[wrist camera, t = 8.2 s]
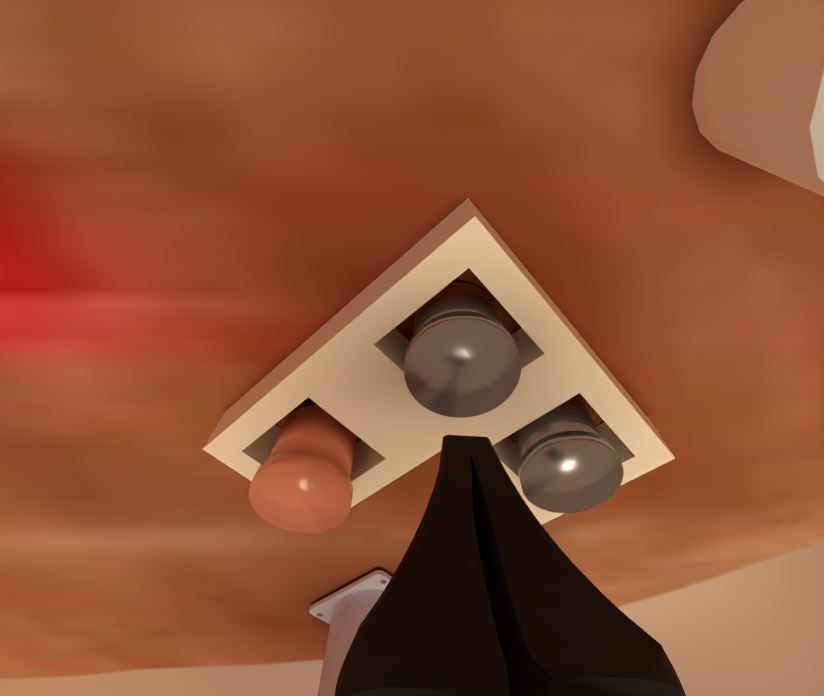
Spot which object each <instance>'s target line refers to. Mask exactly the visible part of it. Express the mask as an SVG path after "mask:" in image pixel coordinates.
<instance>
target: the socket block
mask: <svg viewBox="0 0 824 696" xmlns="http://www.w3.org/2000/svg"><path fill="white" fill-rule="evenodd" d="M468 268H469V269H470V270H471V271H472V272H473V273H474V274H475V275H476V276H477V278H478V279H479V280H480V281H481V282H482V283H483V284H484V286H485V287H486V288H487V289H488V290H489V291H490V292H491V293H492V295H493V296H494V297H495V298H496V299H497V300H498V301H499V302H500V304H501V305H502V306H503V307H504V308H505V309H506V310H507V312H508V313H509V314H510V315H511V316H512V317H513V318H514V319H515V321H516V322H517V323H518V324H519V325H520V326H521V328H520V329H519V330H517V331H516V332H514V333H513V334H511V336H512V337H513V339H514V341H515V344H516V347H517V350H518V353H519V356H520V360H521V375H520V379H519V382H518V384H517V386H516V388H515V390H514V391H513V393H512V394H511V395H510V397H509V398H508V399H507V400H506V401H505V402H503V403H502V404H501V405H499V406H498V407H497V408H495V409H493V410H491V411H489V412H487V413H484V414H481V415H478V416H473V417H464V418H456V417H448V416H443V415H440V414H437V413H434V412H432V411H430V410H428V409H427V408H425V407H423V406H422V405H421V404H420V403H418V402H417V401H416V400H415V399H414V397H413V396H412V395H411V393H410V391H409V390H408V388H407V385H406V382H405V377H404V363H405V353H406V349H407V346H408V344H409V341H408V340H407V339H406V338H405V337H404V336H403V335H402V334H401V333H400V332H399V331H398V330H397V329H396V328H395V327H396V326H397V325H399V324H400V323H401V322H402V321H404V320H405V319H406V318H407V317H409V316H410V315H411V314H412V313H413V312H415V311H416V310H417V309H418V308H420V307H421V306H422V305H423V304H425V303H426V302H427V301H428V300H430V299H431V298H432V297H433V296H435V295H436V294H437V293H438V292H440V291H441V290H442V289H443V288H444V287H446V286H447V285H448V284H449V283H451V282H452V281H453V280H454V279H456V278H457V277H458V276H459V275H461V274H462V273H463V272H464V271H466V270H467V269H468ZM579 393H580V394H581V395H582V396H583V398H584V399H585V400H586V401H587V402H588V403H589V404H590V405H591V407H592V408H593V409H594V410H595V411H596V412H597V413H598V415H599V416H600V417H601V418H602V419H603V420H604V421H605V422H603V423H602V424H600V425H598V426H596V429H597V431H598V433H599V435H600V436H601V437H603V438H604V439H606V440H607V441H608V442H609V443H610V444H611V445H612V446H613V448H614V450H615V452H616V454H617V455H618V457H619V459H620V461H621V463H622V466H623V473H624V474H623V479H622V483H621V485H623V484H625V483H627V482H629V481H631V480H633V479H635V478H637V477H639V476H641V475H643V474H645V473H647V472H649V471H651V470H653V469H655V468H657V467H659V466H661V465H663V464H665V463H667V462H669V461H671V460H673V459H675V457H674V456H673V454H672V453H671V451H670V450H669V448H668V447H667V445H666V444H665V442H664V441H663V439H662V438H661V436H660V435H659V433H658V432H657V430H656V429H655V427H654V426H653V424H652V423H651V421H650V420H649V418H648V417H647V416H646V415H645V414H644V412H643V411H642V410H641V409H640V407H639V406H638V405H637V404H636V402H635V401H634V400H633V399H632V398H631V396H630V395H629V394H628V393H627V391H626V390H625V389H624V388H623V387H622V385H621V384H620V383H619V382H618V380H617V379H616V378H615V377H614V376H613V374H612V373H611V372H610V371H609V369H608V368H607V367H606V366H605V365H604V363H603V362H602V361H601V360H600V358H599V357H598V356H597V355H596V354H595V352H594V351H593V350H592V349H591V347H590V346H589V345H588V344H587V343H586V341H585V340H584V339H583V338H582V336H581V335H580V334H579V333H578V332H577V330H576V329H575V328H574V327H573V325H572V324H571V323H570V322H569V320H568V319H567V318H566V317H565V316H564V314H563V313H562V312H561V311H560V309H559V308H558V307H557V306H556V305H555V303H554V302H553V301H552V300H551V298H550V297H549V296H548V295H547V294H546V292H545V291H544V290H543V289H542V287H541V286H540V285H539V284H538V283H537V281H536V280H535V279H534V278H533V276H532V275H531V274H530V273H529V272H528V270H527V269H526V268H525V267H524V265H523V264H522V263H521V262H520V261H519V259H518V258H517V257H516V256H515V254H514V253H513V252H512V251H511V250H510V248H509V247H508V246H507V245H506V243H505V242H504V241H503V240H502V238H501V237H500V236H499V235H498V234H497V232H496V231H495V230H494V229H493V227H492V226H491V225H490V224H489V223H488V221H487V220H486V219H485V218H484V216H483V215H482V214H481V213H480V212H479V210H478V209H477V208H476V207H475V205H474V204H473V203H472V202H471V201H470V199H469V198H467V199H466V200H465V201H464V202H463V203H461V204H460V205H459V206H458V207H457V208H456V209H455V210H453V211H452V212H451V213H450V214H449V215H448V216H447V217H446V218H444V219H443V220H442V221H441V222H440V223H439V224H438V225H436V226H435V227H434V228H433V229H432V230H431V231H430V232H429V233H427V234H426V235H425V236H424V237H423V238H422V239H421V240H419V241H418V242H417V243H416V244H415V245H414V246H413V247H411V248H410V249H409V250H408V251H407V252H406V253H405V254H404V255H402V256H401V257H400V258H399V259H398V260H397V261H396V262H394V263H393V264H392V265H391V266H390V267H389V268H388V269H387V270H385V271H384V272H383V273H382V274H381V275H380V276H379V277H377V278H376V279H375V280H374V281H373V282H372V283H371V284H370V285H368V286H367V287H366V288H365V289H364V290H363V291H362V292H360V293H359V294H358V295H357V296H356V297H355V298H354V299H353V300H351V301H350V302H349V303H348V304H347V305H346V306H345V307H343V308H342V309H341V310H340V311H339V312H338V313H337V314H335V315H334V316H333V317H332V318H331V319H330V320H329V321H328V322H326V323H325V324H324V325H323V326H322V327H321V328H320V329H318V330H317V331H316V332H315V333H314V334H313V335H312V336H311V337H309V338H308V339H307V340H306V341H305V342H304V343H303V344H301V345H300V346H299V347H298V348H297V349H296V350H295V351H294V352H292V353H291V354H290V355H289V356H288V357H287V358H286V359H284V360H283V361H282V362H281V363H280V364H279V365H278V366H277V367H275V368H274V369H273V370H272V371H271V372H270V373H269V374H267V375H266V376H265V377H264V378H263V379H262V380H261V381H259V382H258V383H257V384H256V385H255V386H254V387H253V388H252V389H250V390H249V391H248V392H247V393H246V394H245V395H244V396H242V397H241V398H240V399H239V400H238V401H237V402H236V403H235V404H233V405H232V406H231V407H230V408H229V409H228V410H227V411H226V412H225V413H224V415H223V416H222V418H221V420H220V421H219V423H218V425H217V426H216V428H215V430H214V431H213V433H212V435H211V436H210V438H209V439H208V441H207V443H206V444H205V446H204V448H203V450H205V451H206V452H208V453H209V454H211V455H212V456H214V457H215V458H217V459H218V460H220V461H221V462H223V463H224V464H226V465H227V466H229V467H230V468H232V469H234V470H235V471H237V472H238V473H240V474H241V475H243V476H244V477H246V478H247V479H249V480H250V481H252V480H253V478H254V475H255V473H256V471H257V469H258V467H259V466H260V465H261V463H263V462H264V461H265V460H266V459H268V458H269V457H270V455H271V452H272V450H273V447H274V445H275V443H276V440H277V438H278V435H279V433H280V431H281V428H280V427H279V426H277V425H276V423H277V422H278V421H280V420H281V419H282V418H283V417H285V416H286V415H287V414H288V413H290V412H291V411H292V410H293V409H294V408H296V407H297V406H298V405H299V404H301V403H302V402H303V401H304V400H306V399H307V398H308V397H309V398H310V399H311V400H312V401H314V402H315V403H316V404H317V405H319V406H320V407H321V408H322V409H324V410H325V411H326V412H328V413H329V414H330V415H331V416H333V417H334V418H335V419H336V420H338V421H339V422H340V423H341V424H343V425H344V426H345V427H346V428H348V429H349V430H350V431H352V432H353V433H354V434H355V435H357V436H358V437H359V438H360V439H362V440H361V441H360V442H358V443H357V444H356V447H355V453H354V458H353V463H352V468H351V473H350V479H351V482H352V485H353V497H352V503H351V507H353V506H354V505H356V504H357V503H359V502H361V501H362V500H364V499H365V498H367V497H368V496H370V495H372V494H373V493H375V492H376V491H378V490H380V489H381V488H383V487H384V486H386V485H387V484H389V483H391V482H392V481H394V480H395V479H397V478H399V477H400V476H402V475H403V474H405V473H406V472H408V471H410V470H411V469H413V468H414V467H416V466H418V465H419V464H421V463H422V462H424V461H425V460H427V459H429V458H430V457H432V456H433V455H435V454H437V453H438V452H440V451H441V448H442V440H443V437H444V436H446V435H461V436H480V437H488V438H489V440H490V441H491V443H492V445H493V447H494V450H495V452H496V454H497V456H498V457H499V459H500V461H501V463H502V465H503V467H504V468H505V470H506V472H507V474H508V475H509V477H510V479H511V481H512V482H513V484H514V485H515V487H516V489H517V490H518V492H519V493H520V495H521V497H522V498H523V500H524V501H525V503H526V504H527V506H528V507H529V508H530V510H531V511H532V513H533V514H534V515H535V517H536V518H537V520H538V521H539V522H540V524H541V525H542V524H544V523H546V522H548V521H550V520H552V519H554V518H556V517H558V516H560V515H562V514H564V513H555V512H549V511H546V510H543V509H540V508H538V507H536V506H535V505H533V504H532V503H531V502H529V500H528V499H527V498H526V497H525V495H524V493H523V491H522V487H521V483H520V479H519V474H518V467H519V463H520V460H521V457H520V453H519V449H518V446H517V444H516V443H515V442H514V441H513V440H512V439H511V438H510V437H509V435H511V434H512V433H514V432H516V431H517V430H519V429H521V428H522V427H524V426H526V425H527V424H529V423H531V422H532V421H534V420H536V419H537V418H539V417H541V416H542V415H544V414H545V413H547V412H549V411H550V410H552V409H554V408H555V407H557V406H559V405H560V404H562V403H564V402H565V401H567V400H569V399H570V398H572V397H574V396H575V395H577V394H579ZM621 485H620V486H621Z"/></svg>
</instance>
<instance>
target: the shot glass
mask: <svg viewBox="0 0 824 696" xmlns="http://www.w3.org/2000/svg"><path fill="white" fill-rule="evenodd" d="M692 108H693V111H694V115H695V118H696V122H697V125H698V129H699V132H700V133H701V134H702V135H703V136H704V137H705V138H706V139H707V140H708V141H709V142H710V143H711V144H712V145H713V146H714V147H715V148H716V149H717V150H719V151H721V152H724V153H726V154H728V155H730V156H733V157H735V158H737V159H740V160H742V161H744V162H746V163H749V164H751V165H753V166H756V167H758V168H760V169H762V170H765V171H767V172H769V173H772V174H774V175H776V176H778V177H781V178H783V179H785V180H788V181H790V182H792V183H794V184H797V185H799V186H801V187H804V188H806V189H808V190H810V191H813V192H815V193H817V194H820V195H822V196H824V0H744V1H743V2H741V3H740V4H739V5H738V6H737V8H736V9H735V10H734V11H733V12H732V13H731V15H730V16H729V17H728V18H727V19H726V20H725V22H724V23H723V24H722V25H721V26H720V27H719V29H718V30H717V31H716V32H715V33H714V34H713V36H712V38H711V40H710V42H709V44H708V46H707V49H706V51H705V53H704V55H703V57H702V59H701V61H700V64H699V66H698V68H697V70H696V75H695V83H694V91H693V99H692Z"/></svg>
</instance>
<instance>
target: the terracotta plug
mask: <svg viewBox="0 0 824 696" xmlns="http://www.w3.org/2000/svg"><path fill="white" fill-rule="evenodd" d="M356 442H357V435H355V434H354V433H353V432H352V431H350V430H349V429H348V428H346V427H345V426H344V425H343V424H341V423H340V422H339V421H338V420H336V419H335V418H334V417H333V416H331V415H330V414H329V413H328V412H326V411H325V410H324V409H322V408H321V407H320V406H319V405H310V406H304V407H301V408H298V409H296V410H294V411H293V412H291V413H290V414H289V415H288V416H287V418H286V419H285V421H284V423H283V426H282V428H281V431H280V433H279V435H278V438H277V440H276V443H275V445H274V447H273V450H272V452H271V455H270V457H269V458H268V459H266V460H265V461H264V462H263V463H261V465H260V466H259V467H258V469H257V471H256V473H255V475H254V478H253V480H252V482H251V485H250V488H249V500H250V503H251V505H252V507H253V509H254V510H255V511H256V513H257V514H258V515H259V516H260V517H261V518H263V519H264V520H265V521H267V522H268V523H270V524H272V525H273V526H276V527H278V528H280V529H283V530H286V531H290V532H295V533H303V534H313V533H321V532H325V531H328V530H331V529H333V528H335V527H337V526H339V525H340V524H341V523H342V522H343V521H344V520H345V519H346V518H347V516H348V514H349V512H350V508H351V503H352V497H353V485H352V482H351V479H350V473H351V468H352V463H353V458H354V453H355V447H356Z"/></svg>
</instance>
